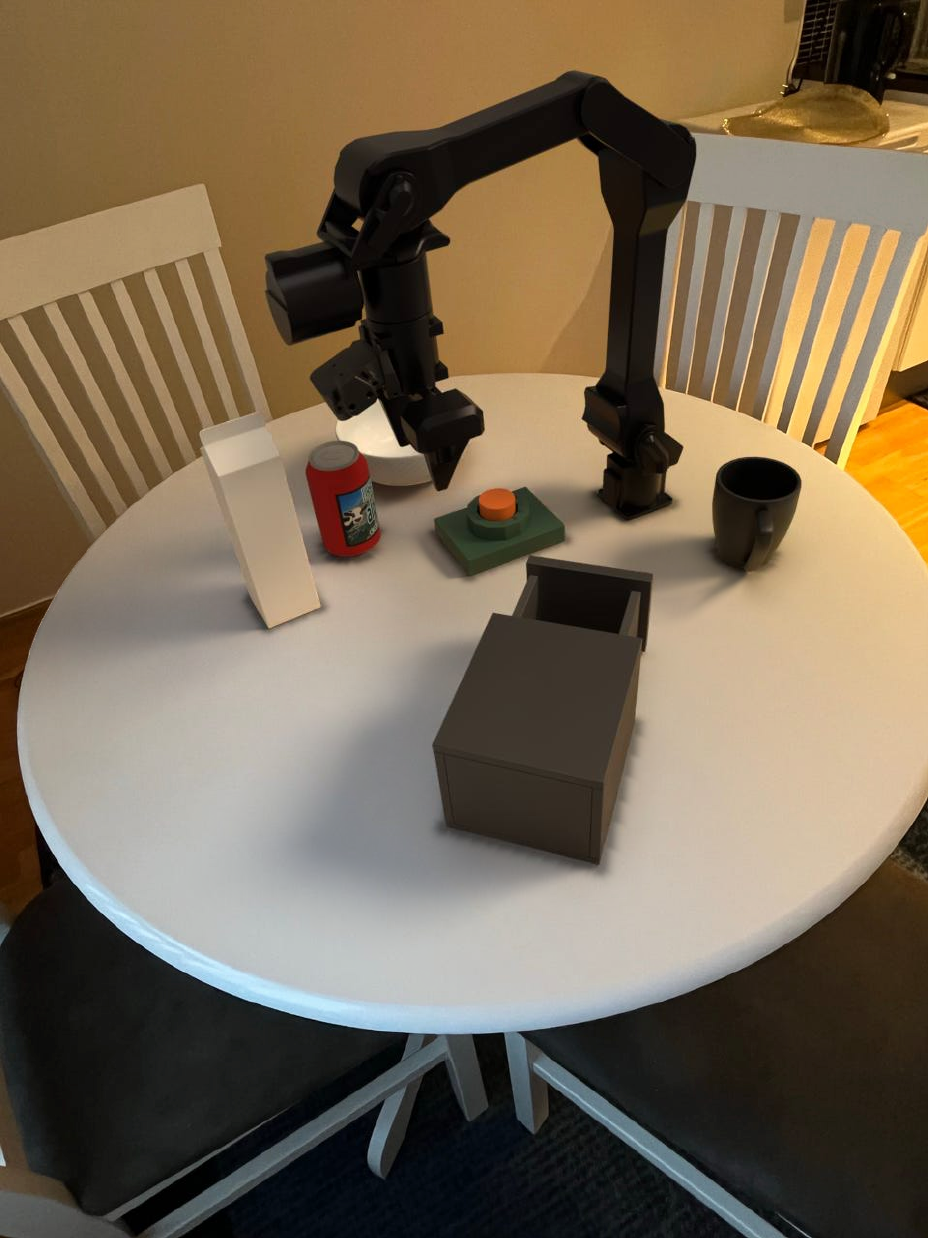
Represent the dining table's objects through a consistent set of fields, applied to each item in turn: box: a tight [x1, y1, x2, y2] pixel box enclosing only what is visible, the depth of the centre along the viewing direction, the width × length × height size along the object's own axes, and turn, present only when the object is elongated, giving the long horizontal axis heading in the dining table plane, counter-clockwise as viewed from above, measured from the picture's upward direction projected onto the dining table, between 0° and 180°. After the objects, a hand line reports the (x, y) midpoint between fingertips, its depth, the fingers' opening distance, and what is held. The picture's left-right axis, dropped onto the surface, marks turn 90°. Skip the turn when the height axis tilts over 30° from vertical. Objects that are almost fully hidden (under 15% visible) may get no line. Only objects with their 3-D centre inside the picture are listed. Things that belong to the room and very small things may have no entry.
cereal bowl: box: [334, 390, 472, 487], centre depth 105 cm, size 17×17×7 cm
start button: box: [479, 487, 516, 521], centre depth 92 cm, size 4×4×2 cm
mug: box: [711, 456, 803, 573], centre depth 85 cm, size 8×12×10 cm
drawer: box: [511, 554, 655, 653], centre depth 75 cm, size 18×11×9 cm, turn 161°
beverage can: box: [304, 440, 381, 557], centre depth 92 cm, size 7×7×12 cm
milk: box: [198, 411, 322, 629], centre depth 82 cm, size 6×6×22 cm
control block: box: [433, 486, 566, 577], centre depth 94 cm, size 12×9×4 cm
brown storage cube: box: [432, 612, 642, 866], centre depth 67 cm, size 15×13×11 cm
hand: (422, 466), depth 81 cm, fingers open, 9 cm apart
